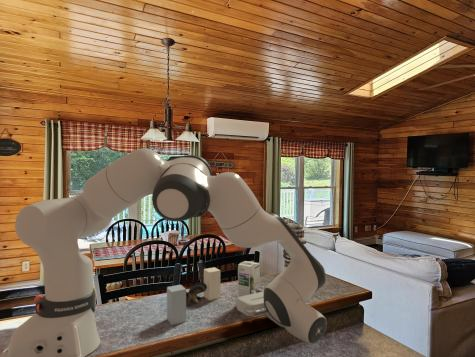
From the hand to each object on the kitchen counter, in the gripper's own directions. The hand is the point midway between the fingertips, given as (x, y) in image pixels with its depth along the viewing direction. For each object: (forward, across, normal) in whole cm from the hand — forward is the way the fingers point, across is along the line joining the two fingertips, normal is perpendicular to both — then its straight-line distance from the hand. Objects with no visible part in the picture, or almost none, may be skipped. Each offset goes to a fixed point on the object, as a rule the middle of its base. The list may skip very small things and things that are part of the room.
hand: (254, 291), depth 106 cm
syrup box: (+4, 0, -6) cm, 7 cm away
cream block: (+17, -8, -6) cm, 19 cm away
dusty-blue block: (+6, -25, -6) cm, 26 cm away
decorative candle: (+9, +24, -6) cm, 26 cm away
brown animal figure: (+16, -15, -6) cm, 23 cm away
